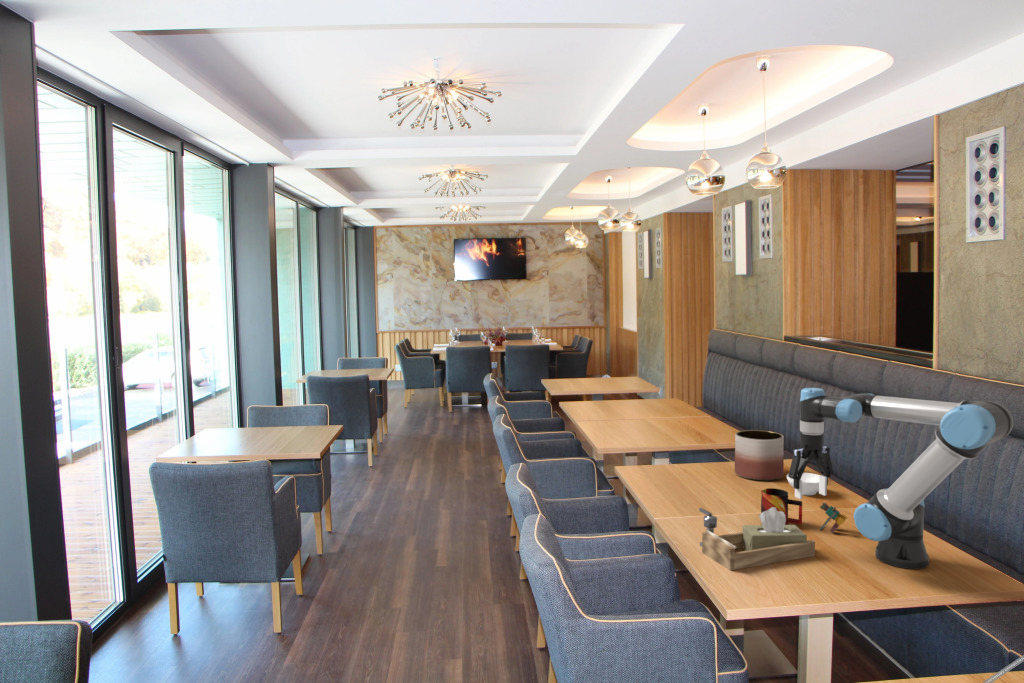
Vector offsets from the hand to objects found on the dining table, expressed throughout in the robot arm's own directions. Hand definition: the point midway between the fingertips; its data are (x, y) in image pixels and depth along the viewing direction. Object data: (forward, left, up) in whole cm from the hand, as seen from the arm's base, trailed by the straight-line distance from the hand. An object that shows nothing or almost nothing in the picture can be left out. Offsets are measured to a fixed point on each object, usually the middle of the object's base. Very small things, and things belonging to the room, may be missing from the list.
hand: (810, 496), depth 226 cm
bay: (0, +21, -18) cm, 27 cm away
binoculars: (+8, -18, -18) cm, 27 cm away
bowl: (+48, -42, -18) cm, 66 cm away
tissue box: (0, +15, -18) cm, 24 cm away
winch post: (+13, +33, -18) cm, 40 cm away
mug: (+22, -6, -18) cm, 29 cm away
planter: (+78, -41, -18) cm, 90 cm away
